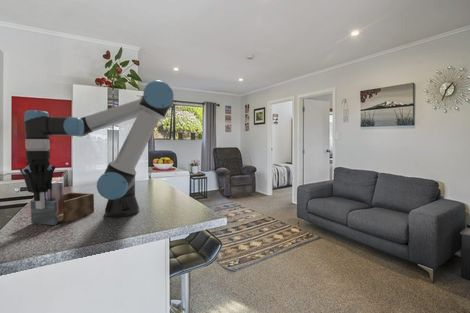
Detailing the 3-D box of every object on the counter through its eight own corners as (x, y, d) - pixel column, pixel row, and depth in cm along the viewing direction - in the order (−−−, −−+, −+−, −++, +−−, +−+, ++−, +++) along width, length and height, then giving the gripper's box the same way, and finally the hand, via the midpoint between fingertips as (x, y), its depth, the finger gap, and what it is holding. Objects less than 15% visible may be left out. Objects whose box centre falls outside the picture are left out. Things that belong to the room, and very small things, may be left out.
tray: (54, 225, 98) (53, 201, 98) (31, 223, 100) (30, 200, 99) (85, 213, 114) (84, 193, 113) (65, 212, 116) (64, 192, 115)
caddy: (65, 222, 102) (65, 201, 102) (40, 220, 105) (39, 199, 104) (94, 211, 118) (93, 193, 118) (71, 210, 120) (70, 192, 120)
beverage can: (43, 217, 102) (42, 182, 102) (56, 214, 108) (55, 180, 108) (54, 219, 101) (54, 183, 101) (67, 215, 107) (67, 181, 106)
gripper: (45, 149, 103) (47, 203, 105) (12, 150, 90) (15, 212, 92) (60, 149, 102) (62, 204, 104) (29, 150, 89) (32, 213, 91)
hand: (40, 208), depth 98 cm, fingers closed
